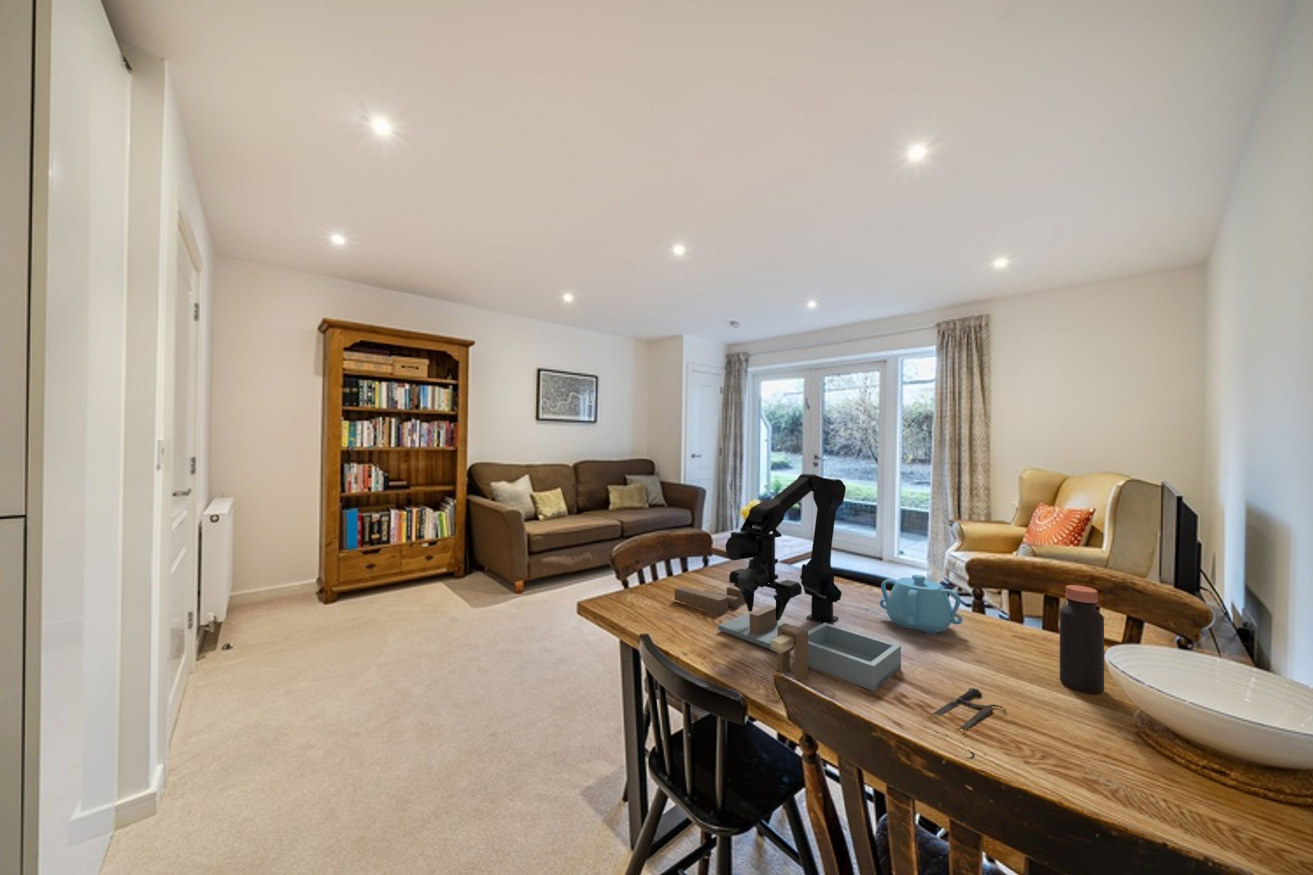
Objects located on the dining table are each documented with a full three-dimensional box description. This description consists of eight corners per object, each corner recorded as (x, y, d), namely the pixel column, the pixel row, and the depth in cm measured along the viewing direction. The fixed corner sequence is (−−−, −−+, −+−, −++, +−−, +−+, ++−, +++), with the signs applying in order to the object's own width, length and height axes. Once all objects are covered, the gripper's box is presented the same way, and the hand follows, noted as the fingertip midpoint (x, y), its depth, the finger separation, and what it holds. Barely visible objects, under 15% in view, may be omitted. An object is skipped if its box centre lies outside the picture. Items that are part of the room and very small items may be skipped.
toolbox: (824, 642, 118) (824, 603, 118) (900, 668, 105) (900, 624, 105) (776, 670, 104) (776, 626, 104) (858, 704, 91) (858, 653, 91)
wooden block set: (722, 597, 136) (673, 585, 148) (722, 617, 136) (673, 603, 148) (752, 583, 149) (705, 573, 161) (752, 601, 149) (705, 589, 161)
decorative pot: (933, 615, 137) (933, 567, 137) (968, 638, 121) (967, 584, 121) (876, 614, 138) (875, 567, 138) (902, 637, 122) (902, 584, 122)
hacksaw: (971, 692, 96) (971, 684, 96) (1033, 717, 87) (1033, 709, 87) (903, 731, 83) (903, 722, 83) (967, 765, 75) (967, 755, 75)
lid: (751, 619, 135) (751, 595, 135) (810, 639, 121) (810, 612, 121) (718, 633, 125) (718, 607, 125) (779, 656, 112) (779, 628, 112)
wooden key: (796, 636, 106) (796, 627, 106) (806, 639, 104) (806, 630, 104) (770, 649, 99) (770, 640, 99) (780, 653, 98) (780, 643, 98)
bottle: (1069, 675, 102) (1069, 581, 102) (1110, 690, 96) (1110, 590, 96) (1053, 682, 99) (1052, 586, 99) (1094, 698, 93) (1094, 595, 93)
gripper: (715, 554, 125) (715, 613, 125) (777, 568, 111) (777, 635, 111) (741, 547, 132) (741, 603, 132) (802, 559, 118) (802, 622, 118)
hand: (763, 615), depth 123 cm, fingers open, 8 cm apart
